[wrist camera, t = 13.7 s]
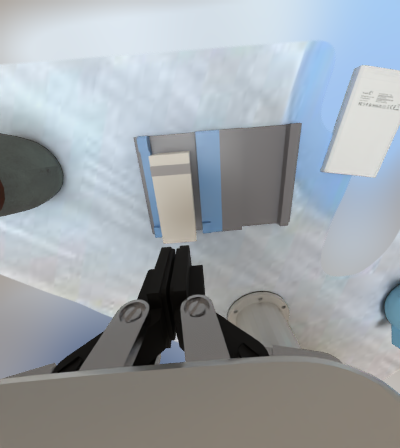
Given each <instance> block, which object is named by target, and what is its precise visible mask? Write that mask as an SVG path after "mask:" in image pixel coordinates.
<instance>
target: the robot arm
mask: <svg viewBox="0 0 400 448" xmlns="http://www.w3.org/2000/svg"><path fill="white" fill-rule="evenodd" d="M289 314H290V312H289V308H288V306H287V304H286V302H285V301H284V300H283V299H282V298H281V297H280V296H278V295H276V294H273V293H268V292H257V293H252V294H249V295H246V296H244V297H242V298H240V299H239V300H238V301H236V302H235V303H234V304H233V305H232V307H231V308H230V310H229V312H228V320H226V319H225V318H223V317H222V316H220V315H219V314H217V313H216V312H215V309H214V306H213V303H212V301H211V299H209V298H208V297H207V296H205V287H204V275H203V265H197V266H192V265H191V257H190V248H189V245H187V246H180V248H179V249H177V251H176V254H175V249H172V248H171V247H164V248H162V249H161V252H160V254H159V257H158V260H157V263H156V266H155V269H151V270H149V271H148V273H147V275H146V278H145V281H144V283H143V286H142V288H141V291H140V293H139V296H138V299H137V300H133V301H130V302H128V303H126V304H124V305H123V306H122V307H121V308H120V309H119V310H118V311H117V313H116V314H115V316H114V317H113V319H112V320H111V322H110V323H109V325H108V326H107V328H106V329H105V331H104V332H102V333H101V334H99V335H98V336H96V337H95V338H93V339H92V340H90V341H89V342H87V343H86V344H85V345H83V346H82V347H80V348H79V349H77V350H76V351H74V352H73V353H72V354H70V355H69V356H67V357H66V358H65V359H64V360H62V361H61V362H60V363H59V364H58V365H57V366H56V364H55V363H53V364H49V365H46V366H43V367H39V368H36V369H33V370H29V371H26V372H23V373H19V374H16V375H13V376H9V377H6V378H3V379H0V448H400V394H399V393H398V392H396V391H395V390H394V389H393V388H391V387H390V386H389V385H387V384H386V383H385V382H383V381H381V380H380V379H378V378H376V377H375V376H373V375H371V374H369V373H366V372H364V371H362V370H360V369H357V368H354V367H352V366H349V365H346V364H343V363H342V362H341V361H340V360H339V359H337V358H336V357H334V356H332V355H331V354H328V353H324V352H319V351H312V350H305V349H302V348H301V346H300V344H299V342H298V341H297V339H296V337H295V335H294V333H293V331H292V330H291V328H290V326H289V324H288V322H287V321H288V319H289ZM176 333H177V338H178V340H179V346H180V348H181V349H182V350H183V351H184V352H185V360H186V362H181V363H169V364H159V363H160V359H161V352H162V351H164V350H165V349H166V348H170V347H171V340H175V336H176Z"/></svg>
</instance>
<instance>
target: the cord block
mask: <svg viewBox="0 0 400 448" xmlns="http://www.w3.org/2000/svg"><path fill="white" fill-rule="evenodd" d="M148 157H149V163H150V170H151V176H152V180H153V186H154V191H155V197H156V203H157V209H158V214H159V220H160V226H161V232H162V237H163V243H164V244H168V243H179V242H191V241H197V240H196V220H195V209H194V197H193V186H192V175H191V161H190V152H189V151H181V152H168V153H158V154H155V155H151V156H148Z"/></svg>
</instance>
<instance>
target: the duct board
mask: <svg viewBox="0 0 400 448" xmlns="http://www.w3.org/2000/svg"><path fill="white" fill-rule="evenodd" d="M301 125H302V123H294V124H287V125H277V126H265V127H253V128H234V129H222V130H210V131H198V132H194V133H182V134H170V135H158V136H139V137H135V138H134V142H135V147H136V152H137V157H138V162H139V167H140V172H141V177H142V182H143V187H144V192H145V197H146V202H147V207H148V212H149V217H150V222H151V227H152V232H153V234H155V237H156V238H157V237H162V232H161V226H160V220H159V214H158V209H157V203H156V197H155V191H154V186H153V180H152V176H151V170H150V163H149V157H148V156H151V155H155V154H158V153H168V152H181V151H189V152H190V161H191V175H192V186H193V197H194V209H195V220H196V230H203V233H211V232H219V231H230V230H241V229H242V226H249V225H261V224H272V223H278V224H279V225H280V226H287V225H288V222H289V221H290V213H291V205H292V197H293V189H294V181H295V173H296V165H297V157H298V149H299V141H300V133H301Z"/></svg>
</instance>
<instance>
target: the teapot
mask: <svg viewBox="0 0 400 448" xmlns="http://www.w3.org/2000/svg"><path fill="white" fill-rule="evenodd" d="M385 314H386V317H387V319H388V321H389V322H390V323H391V325H392V344H393V345H395V346H396V347H398V348H400V284H399V285H398V286H397V287H395V288H394V289H393V290H392V291H391V292H390V294H389V295H388V296H387V298H386V300H385Z"/></svg>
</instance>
